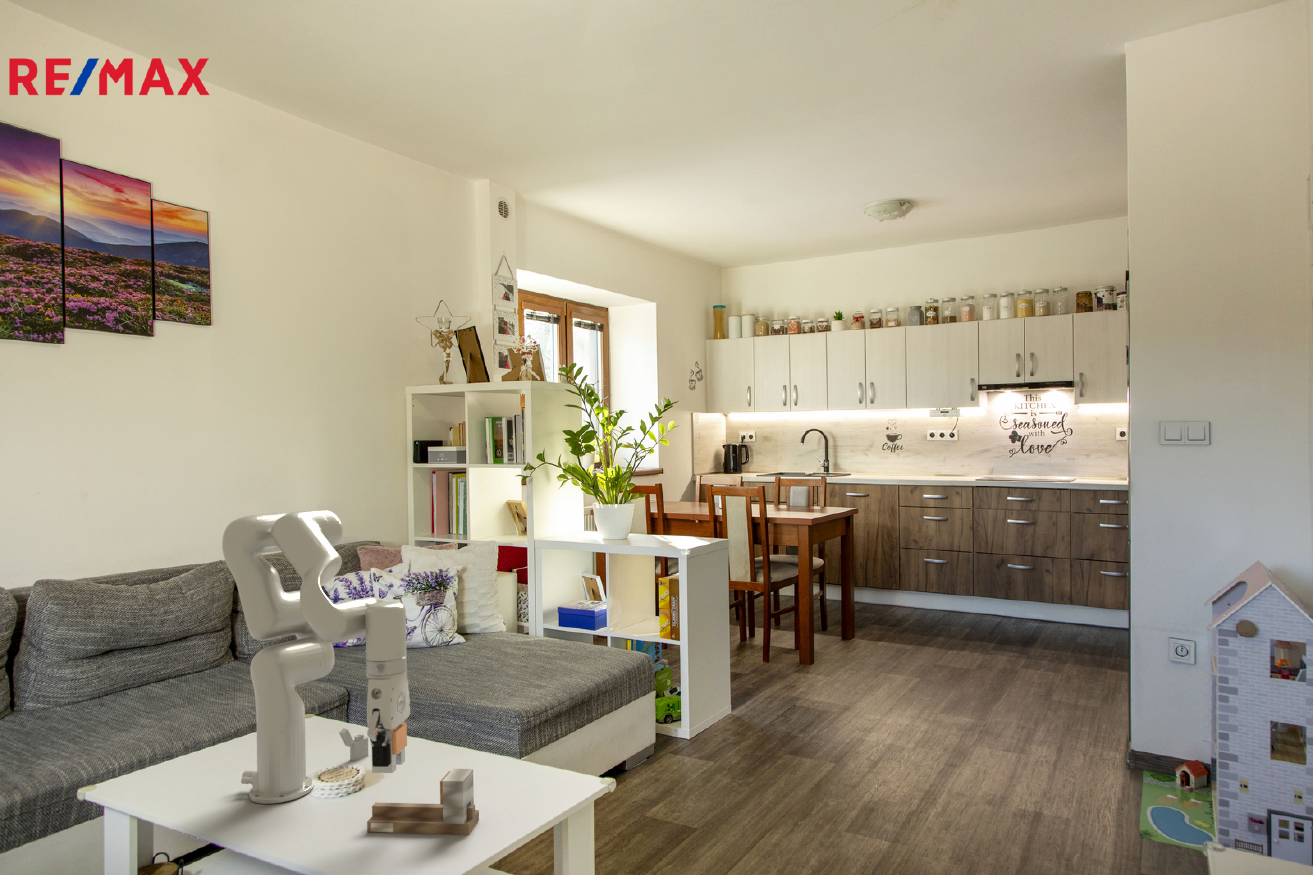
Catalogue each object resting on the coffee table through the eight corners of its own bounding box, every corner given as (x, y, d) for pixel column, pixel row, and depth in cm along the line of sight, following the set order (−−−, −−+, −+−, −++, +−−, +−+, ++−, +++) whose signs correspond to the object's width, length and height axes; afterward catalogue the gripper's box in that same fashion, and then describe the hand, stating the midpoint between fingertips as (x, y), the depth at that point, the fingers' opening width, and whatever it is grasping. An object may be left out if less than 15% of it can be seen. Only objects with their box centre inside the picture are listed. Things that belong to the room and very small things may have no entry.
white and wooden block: (372, 772, 157) (371, 730, 157) (385, 761, 163) (384, 720, 163) (395, 773, 157) (394, 730, 157) (408, 761, 163) (407, 720, 163)
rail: (366, 832, 157) (366, 779, 157) (380, 818, 163) (380, 767, 163) (468, 835, 155) (467, 781, 155) (479, 820, 161) (478, 769, 161)
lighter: (363, 754, 198) (363, 720, 199) (368, 755, 198) (368, 721, 198) (339, 764, 192) (338, 729, 192) (344, 765, 192) (343, 730, 192)
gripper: (386, 678, 151) (388, 777, 151) (422, 655, 169) (424, 744, 168) (347, 678, 152) (349, 776, 152) (386, 655, 169) (388, 743, 169)
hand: (388, 758), depth 160 cm, fingers closed on white and wooden block, 6 cm apart
